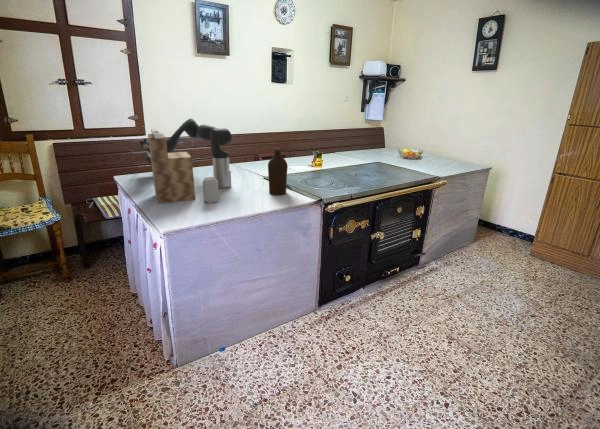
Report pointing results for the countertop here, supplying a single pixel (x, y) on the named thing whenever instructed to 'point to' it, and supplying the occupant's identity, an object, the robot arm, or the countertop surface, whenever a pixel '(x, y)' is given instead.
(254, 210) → the countertop surface
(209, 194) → the can
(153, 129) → the remote
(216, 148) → the robot arm
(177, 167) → the stepped wooden block
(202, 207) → the countertop surface
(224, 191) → the countertop surface
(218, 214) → the countertop surface
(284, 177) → the olive oil
